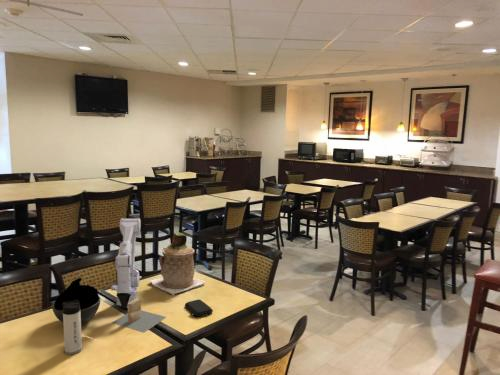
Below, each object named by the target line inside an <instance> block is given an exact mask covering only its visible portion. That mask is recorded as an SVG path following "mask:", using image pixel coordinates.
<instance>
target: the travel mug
mask: <svg viewBox="0 0 500 375" xmlns="http://www.w3.org/2000/svg"><path fill="white" fill-rule="evenodd" d="M62 306H63V322H62V323H63V344H64V353H65V354H66V355H68V356H69V355H70V356H71V355H72V356H73V355H76V354H78V353H80V352H81V351H82V349H83V344H82V343H83V342H82V341H83V340H82V339H83V338H82V324H81V312H80V303H79V302H76V301H69V302H64V303H63V304H62Z"/></svg>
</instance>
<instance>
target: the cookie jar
mask: <svg viewBox="0 0 500 375" xmlns="http://www.w3.org/2000/svg"><path fill="white" fill-rule="evenodd" d="M187 238H188V237H187V236H186V234H184V233H181V232H180V231H174V232H173V238H172V242H171V243H170V244H168V245H167V246H164V247H163V250H162V252H161V253H162V255H163V256H160V257H159V258H158V262H159V266H160V275H161V276H162V277H159V278H155V279H149V280H148V281H149V282H150V283H151V284H152V286H154V287H156V288H158V289H160V290H162V291H164V292H165V293H168V294H170V295H172V296H175V295H176V294H179V293H182V292H186V291H189V290H191V289H194V288H198V287H203V286H205V285H204V284H206V281H205V280H202V279H199V278H197V277H196V276H195V271H196V270H195V260H194V254H195V250H196V249H194V248H192V247H191V246H188V245H187V241H188V240H187ZM194 276H195V277H194ZM202 285H203V286H202Z"/></svg>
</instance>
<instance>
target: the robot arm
mask: <svg viewBox="0 0 500 375" xmlns="http://www.w3.org/2000/svg"><path fill="white" fill-rule="evenodd" d="M141 222H142V221H141V219H140V218H139V217H138V218H120V220H119V230H120V233H121V235H122V241H121V242H120V243H119V248H118V253H117V255H116V256H115V267H116V268H115V269H116V273H117V274H116V277H117V284H114V285H110V291H116V303H115V305H116V306H120V307H121V308H122V309H126V308H127V309H128V303H129V302H131V301H133V300H135V299H138V294H139V291H138V287H139V286H140V279H141V278H140V272H139V270H138V269H136V268H135V254H136V240H137V237H139V235H140V234H141V226H142V223H141Z"/></svg>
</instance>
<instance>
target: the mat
mask: <svg viewBox="0 0 500 375" xmlns="http://www.w3.org/2000/svg"><path fill="white" fill-rule="evenodd" d="M166 318H167V316H164V315H162V314H161V315H160V314H156V313H153V312H150V311H145V310H142V309H141V318H140V319H138V320H137V321H135V322H133V323H130V322H128V312H127V313H125V314H123V315H121V317H119V318H117V319H115V320H114V321H112V322H111V324H114V325H117V326H120V327H124V328H128V329H130V330H135V331H138V332H141V333H144V334H145V333H146V332H147V331H149V330H150V329H152V328H153V327H155V326H156V325H157V324H159V323H160V322H162V321H163V320H165V319H166Z"/></svg>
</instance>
